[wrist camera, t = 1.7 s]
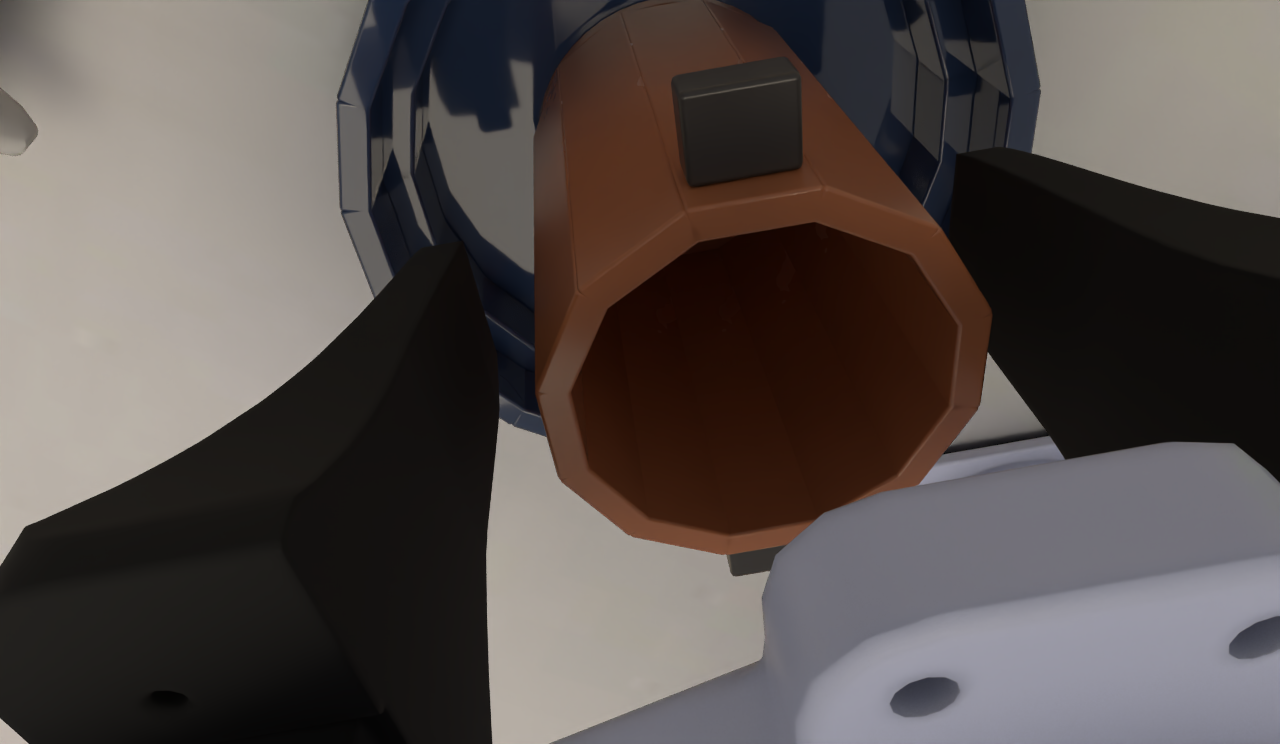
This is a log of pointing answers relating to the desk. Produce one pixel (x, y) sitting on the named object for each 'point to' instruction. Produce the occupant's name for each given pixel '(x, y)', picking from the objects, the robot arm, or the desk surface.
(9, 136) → the stamp
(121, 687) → the robot arm
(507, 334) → the pan
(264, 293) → the desk surface
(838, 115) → the copper pot
